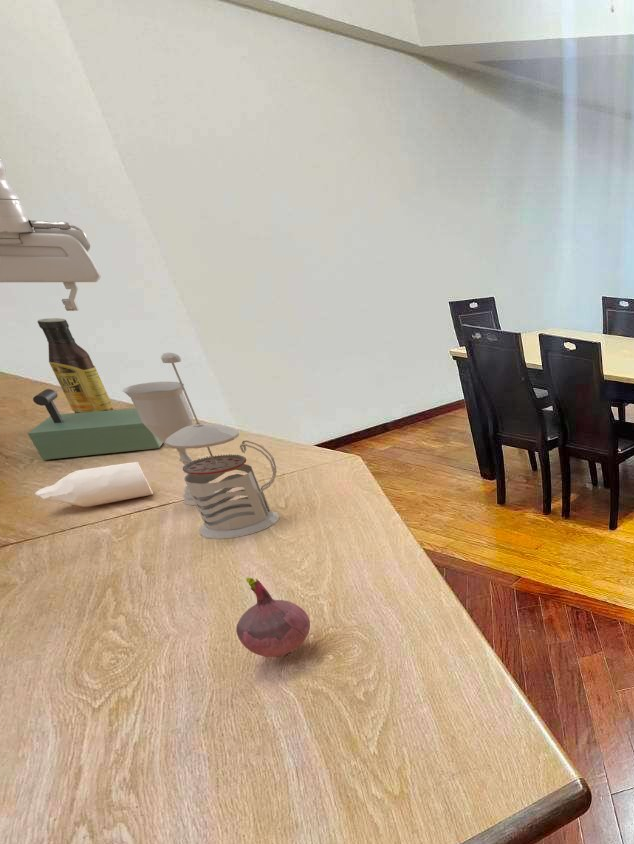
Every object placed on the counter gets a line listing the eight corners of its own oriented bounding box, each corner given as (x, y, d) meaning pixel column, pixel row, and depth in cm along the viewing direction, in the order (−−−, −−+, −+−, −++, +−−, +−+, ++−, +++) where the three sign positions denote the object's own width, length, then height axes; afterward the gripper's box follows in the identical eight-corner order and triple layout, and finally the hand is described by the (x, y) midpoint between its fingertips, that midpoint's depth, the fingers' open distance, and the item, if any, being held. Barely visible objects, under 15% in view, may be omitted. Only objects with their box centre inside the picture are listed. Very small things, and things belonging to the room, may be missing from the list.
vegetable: (308, 631, 67) (277, 556, 62) (329, 654, 64) (299, 577, 59) (243, 656, 63) (206, 578, 58) (263, 683, 60) (225, 602, 55)
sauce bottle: (69, 418, 126) (16, 320, 116) (102, 410, 131) (55, 316, 122) (92, 421, 125) (41, 322, 115) (125, 413, 130) (79, 318, 120)
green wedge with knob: (42, 460, 106) (9, 402, 100) (65, 440, 114) (36, 385, 109) (159, 448, 113) (133, 393, 108) (172, 430, 122) (149, 378, 117)
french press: (206, 515, 91) (131, 347, 78) (297, 503, 95) (239, 343, 83) (190, 543, 83) (104, 362, 71) (289, 529, 88) (224, 357, 76)
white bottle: (47, 507, 91) (27, 473, 88) (150, 487, 98) (135, 456, 96) (47, 520, 87) (26, 485, 84) (155, 499, 95) (139, 466, 92)
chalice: (173, 496, 96) (120, 385, 87) (225, 486, 100) (180, 379, 91) (178, 511, 91) (124, 396, 82) (233, 500, 96) (186, 389, 87)
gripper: (81, 221, 102) (117, 307, 109) (-108, 213, 90) (-54, 310, 97) (79, 223, 98) (116, 311, 105) (-119, 215, 86) (-63, 315, 93)
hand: (33, 311), depth 101 cm, fingers open, 8 cm apart
